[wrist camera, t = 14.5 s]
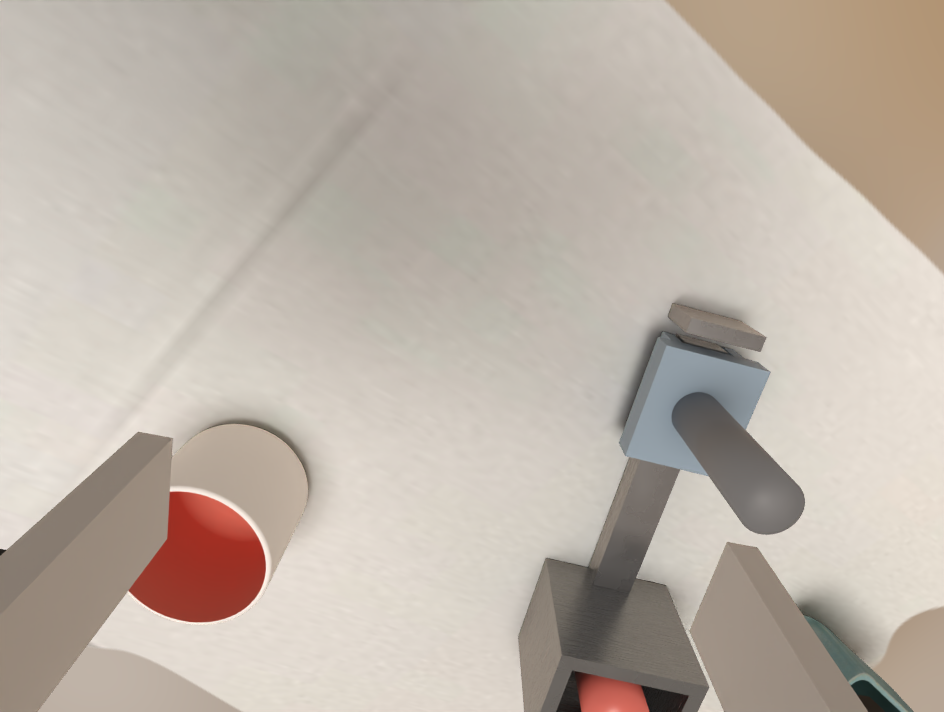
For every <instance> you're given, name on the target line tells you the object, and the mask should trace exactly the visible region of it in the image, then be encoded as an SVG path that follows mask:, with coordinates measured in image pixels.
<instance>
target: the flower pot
mask: <svg viewBox="0 0 944 712" xmlns="http://www.w3.org/2000/svg"><path fill="white" fill-rule="evenodd" d="M803 616H804V617H805V619H806V620H807V622H808V623H809V625H810V626H811V628H812V629H813V631H814V632H815V634H816V635H817V637H818V638H819V640H820V641H821V643H822V644H823V645H824V647H825V648H826V650H827V651H828V653H829V654H830V656H831V657H832V659H833V660H834V662H835V663H836V665H837V666H838V668H839V669H840V671H841V672H842V674H843V675H844V677H845V678H846V680H847V681H848V683H849V684H850V685H851V687H852V688H853V690H854V691H855V693H856V694H857V695H863V696H868V697H870V698H871V699H872V700H874V701H875V702H876V703H877V704H878V705H879V706H880V707H881V708H882V709H883V710H884V711H885V712H913V710H912V709H911V708H910V707H909V706H908V705H907V704H906V703H905V702H904V701H903V700H902V699H901V697H899V695H898V694H897V693H896V692H895V691H894V690H893V689H892V688H891V687H890V686H889V685H888V684H887V683H886V682H885V681H884V680H883V679H882V678H881V677H880V676H879V675H878V674H876V673H875V672H874V671H873V670H872V669H871V668H870V667H869V666H867V665H866V664H865V663H864V662H863V661H862V660H861V659H860V658H859V657H858V656H857V655H856V654H854V653H853V652H852V651H851V650H850V649H849V648H848V647H847V646H846V645H845V644H844V643H843V642H842V641H841V640H840V639H839V638H838V637H836V636H835V635H834V634H833V633H832V632H831V631H830V630H829V629H828V628H827V627H826V626H824V625H823V624H821V623H820V622H818V621H817V620H815V619H813V618H811V617H808V616H805V615H803Z"/></svg>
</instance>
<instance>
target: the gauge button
mask: <svg viewBox="0 0 944 712" xmlns="http://www.w3.org/2000/svg"><path fill="white" fill-rule="evenodd" d="M574 673H575V679H576V684H577V690H578V695H579V701H580V706H581V711H582V712H649V709H648V705H647V702H646V699H645V696H644V692H643V689H642V686H641V685H638V684H633V683H629V682H624V681H619V680H615V679H610V678H606V677H601V676H596V675H592V674H587V673H582V672H578V671H574Z"/></svg>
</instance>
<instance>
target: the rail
mask: <svg viewBox="0 0 944 712" xmlns="http://www.w3.org/2000/svg"><path fill="white" fill-rule="evenodd" d="M668 317H669V318H670V319H671V320H672V321H673V322H674V323H675V324H677V325H678V326H679V327H680V328H681V329H682V330H683V331H685V332H686V333H689V334H693V335H696V336H700V337H704V338H708V339H712V340H716V341H720V342H724V343H727V344H731V345H735V346H739V347H743V348H747V349H751V350H755V351H758V352H760V351H761V349H762V347H763V344H764V342H765V340H766V337H765V336H764V335H762V334H761V333H759V332H757V331H756V330H754V329H753V328H751V327H750V326H748V325H747V324H745V323H744V322H742V321H739V320H736V319H732V318H728V317H724V316H720V315H716V314H713V313H709V312H705V311H701V310H697V309H693V308H690V307H686V306H682V305H678V304H674V303H673V304H672V307H671V309H670V312H669V315H668ZM676 337H677V338H678V339H679V340H680V341H681V342H682V343H685V344H689V345H693V346H697V347H701V348H705V349H709V350H713V351H716V352H720V353H724V354H727V352H726V351H725V350H723V349H722V348H721V347H720V346H718V345H717V344H714V343H710V342H706V341H703V340H699V339H695V338H691V337H687V336H683V335H679V334H676ZM679 471H680V469H677V468H673V467H669V466H665V465H660V464H656V463H652V462H648V461H644V460H640V459H636V458H632V457H630V458H629V461H628V463H627V466H626V469H625V471H624V474H623V477H622V479H621V482H620V484H619V487H618V490H617V492H616V495H615V498H614V500H613V503H612V506H611V508H610V511H609V514H608V516H607V519H606V522H605V524H604V527H603V530H602V532H601V535H600V538H599V540H598V543H597V546H596V548H595V551H594V553H593V556H592V559H591V561H590V564H589V567H588V569H589V573H590V577H591V580H592V584H594V585H598V586H602V587H607V588H611V589H616V590H620V591H625V592H629V593H630V591H631V589H632V586H633V584H634V581H635V579H636V576H637V574H638V571H639V569H640V567H641V564H642V562H643V559H644V557H645V554H646V552H647V549H648V547H649V544H650V542H651V540H652V537H653V535H654V532H655V530H656V527H657V525H658V522H659V520H660V518H661V515H662V513H663V510H664V508H665V505H666V503H667V500H668V498H669V495H670V493H671V491H672V488H673V486H674V483H675V481H676V478H677V476H678V473H679Z"/></svg>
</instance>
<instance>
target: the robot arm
mask: <svg viewBox="0 0 944 712" xmlns="http://www.w3.org/2000/svg"><path fill="white" fill-rule="evenodd" d="M172 442H173V438H169V437H163V436H158V435H153V434H147V433H142V432H137V433H136V434H135V435H134V436H133V437H132V438H131V439H130V440H129V441H127V442H126V443H125V444H124V445H123V446H122V447H121V448H120V449H119V450H117V451H116V452H115V453H114V454H113V455H112V456H111V457H110V458H109V459H107V460H106V461H105V462H104V463H103V464H102V465H101V466H100V467H98V468H97V469H96V470H95V471H94V472H93V473H92V474H91V475H90V476H88V477H87V478H86V479H85V480H84V481H83V482H82V483H81V484H80V485H78V486H77V487H76V488H75V489H74V490H73V491H72V492H71V493H70V494H68V495H67V496H66V497H65V498H64V499H63V500H62V501H61V502H60V503H58V504H57V505H56V506H55V507H54V508H53V509H52V510H51V511H50V512H48V513H47V514H46V515H45V516H44V517H43V518H42V519H41V520H40V521H38V522H37V523H36V524H35V525H34V526H33V527H32V528H31V529H30V530H28V531H27V532H26V533H25V534H24V535H23V536H22V537H21V538H20V539H18V540H17V541H16V542H15V543H14V544H13V545H12V546H11V547H10V548H8V549H7V550H3V549H0V712H37V711H38V710H39V709H40V708H41V706H42V705H43V703H44V702H45V701H46V699H47V698H48V697H49V696H50V694H51V693H52V692H53V690H54V689H55V687H56V686H57V685H58V684H59V682H60V681H61V680H62V678H63V677H64V676H65V674H66V673H67V672H68V670H69V669H70V668H71V666H72V665H73V664H74V662H75V661H76V660H77V658H78V657H79V656H80V654H81V653H82V652H83V650H84V649H85V648H86V646H87V645H88V644H89V642H90V641H91V640H92V638H93V637H94V636H95V634H96V633H97V632H98V630H99V629H100V628H101V626H102V625H103V624H104V622H105V621H106V620H107V618H108V617H109V616H110V614H111V613H112V612H113V610H114V609H115V608H116V606H117V605H118V604H119V602H120V601H121V600H122V598H123V597H124V596H125V594H126V593H127V592H128V590H129V589H130V588H131V586H132V585H133V584H134V582H135V581H136V580H137V578H138V577H139V576H140V574H141V573H142V572H143V570H144V569H145V568H146V566H147V565H148V564H149V562H150V561H151V560H152V558H153V557H154V556H155V554H156V553H157V552H158V550H159V549H160V548H161V546H162V545H163V544H164V542H165V541H166V540H167V533H168V515H169V496H170V478H171V460H172ZM690 633H691V635H692V638H693V640H694V642H695V645H696V647H697V649H698V652H699V654H700V656H701V659H702V661H703V663H704V666H705V668H706V670H707V673H708V675H709V677H710V680H711V682H712V685H713V687H714V689H715V692H716V694H717V696H718V699H719V701H720V703H721V706H722V708H723V710H724V712H885V711H884V710H883V709H882V708H881V707H880V706H879V705H878V704H877V703H876V702H875V701H874V700H872V699H871V698H870V697H868V696H863V695H857V694H856V693H855V691H854V690H853V688H852V687H851V685H850V684H849V683H848V681H847V680H846V678H845V677H844V675H843V674H842V672H841V671H840V669H839V668H838V666H837V665H836V663H835V662H834V660H833V659H832V657H831V656H830V654H829V653H828V651H827V650H826V648H825V647H824V645H823V644H822V643H821V641H820V640H819V638H818V637H817V635H816V634H815V632H814V631H813V629H812V628H811V626H810V625H809V623H808V622H807V620H806V619H805V617H804V616H803V614H802V613H801V611H800V610H799V608H798V607H797V606H796V604H795V603H794V601H793V600H792V598H791V597H790V595H789V594H788V592H787V591H786V589H785V588H784V586H783V585H782V583H781V582H780V580H779V579H778V577H777V576H776V574H775V573H774V571H773V570H772V568H771V567H770V566H769V564H768V563H767V561H766V560H765V558H764V557H763V555H762V554H761V552H760V551H759V549H758V548H757V547H751V546H746V545H741V544H735V543H730V542H727V543H726V546H725V548H724V550H723V553H722V555H721V558H720V560H719V562H718V565H717V567H716V569H715V572H714V574H713V576H712V579H711V581H710V584H709V586H708V588H707V591H706V593H705V595H704V598H703V600H702V602H701V605H700V607H699V610H698V612H697V614H696V617H695V619H694V621H693V624H692V626H691V628H690Z"/></svg>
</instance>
